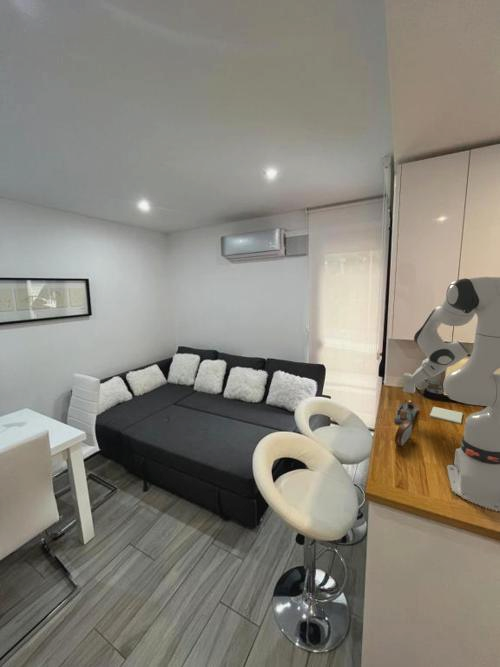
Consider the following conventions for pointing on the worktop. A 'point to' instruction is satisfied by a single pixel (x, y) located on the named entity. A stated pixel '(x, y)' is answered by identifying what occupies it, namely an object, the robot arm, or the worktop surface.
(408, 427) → the tin
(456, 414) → the cutting board
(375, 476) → the worktop surface
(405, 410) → the hand plane
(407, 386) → the grey rectangular block
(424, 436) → the worktop surface
